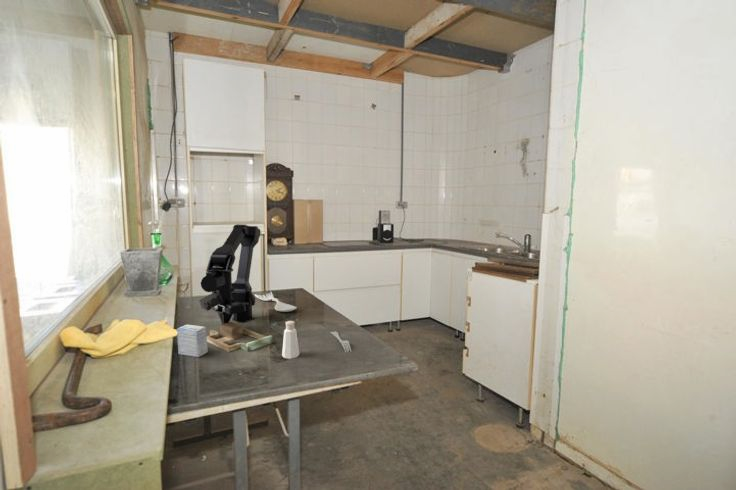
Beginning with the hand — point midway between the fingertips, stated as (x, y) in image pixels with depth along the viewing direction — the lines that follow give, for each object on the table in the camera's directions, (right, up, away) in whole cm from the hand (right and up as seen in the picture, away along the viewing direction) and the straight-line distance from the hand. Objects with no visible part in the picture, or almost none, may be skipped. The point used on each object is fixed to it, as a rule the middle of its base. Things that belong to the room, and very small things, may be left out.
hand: (225, 327), depth 142 cm
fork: (+43, -4, -7) cm, 44 cm away
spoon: (+10, +2, +36) cm, 38 cm away
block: (+4, -3, -3) cm, 5 cm away
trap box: (+6, -3, -7) cm, 10 cm away
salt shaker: (+28, -5, -20) cm, 35 cm away
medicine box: (-3, -5, -19) cm, 20 cm away
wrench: (+20, -3, +2) cm, 20 cm away
